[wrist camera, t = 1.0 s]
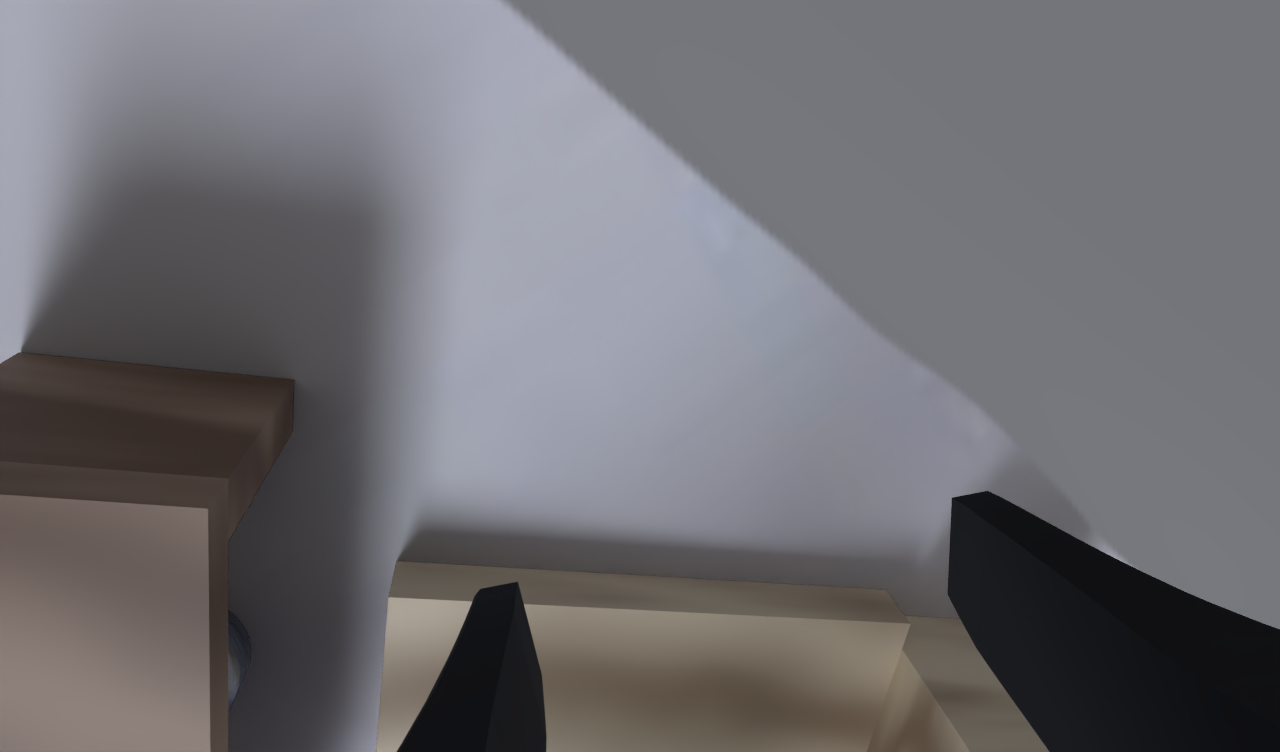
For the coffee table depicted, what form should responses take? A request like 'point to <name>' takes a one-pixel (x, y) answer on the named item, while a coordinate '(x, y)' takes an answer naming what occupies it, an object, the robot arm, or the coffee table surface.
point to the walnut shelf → (123, 548)
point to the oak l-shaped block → (710, 665)
